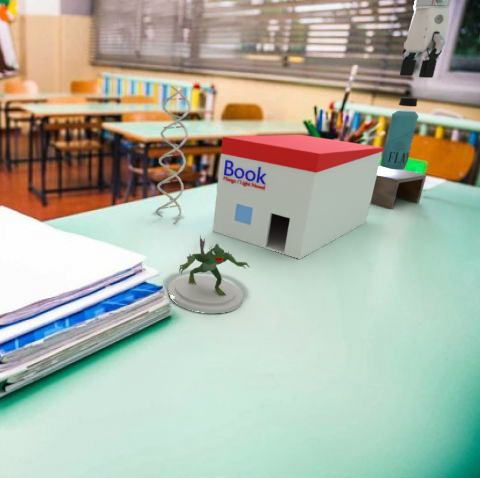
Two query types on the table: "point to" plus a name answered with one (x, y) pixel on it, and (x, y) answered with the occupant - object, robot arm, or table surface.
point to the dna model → (176, 148)
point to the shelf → (396, 187)
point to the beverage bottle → (400, 136)
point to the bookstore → (293, 190)
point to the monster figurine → (207, 284)
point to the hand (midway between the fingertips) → (415, 76)
